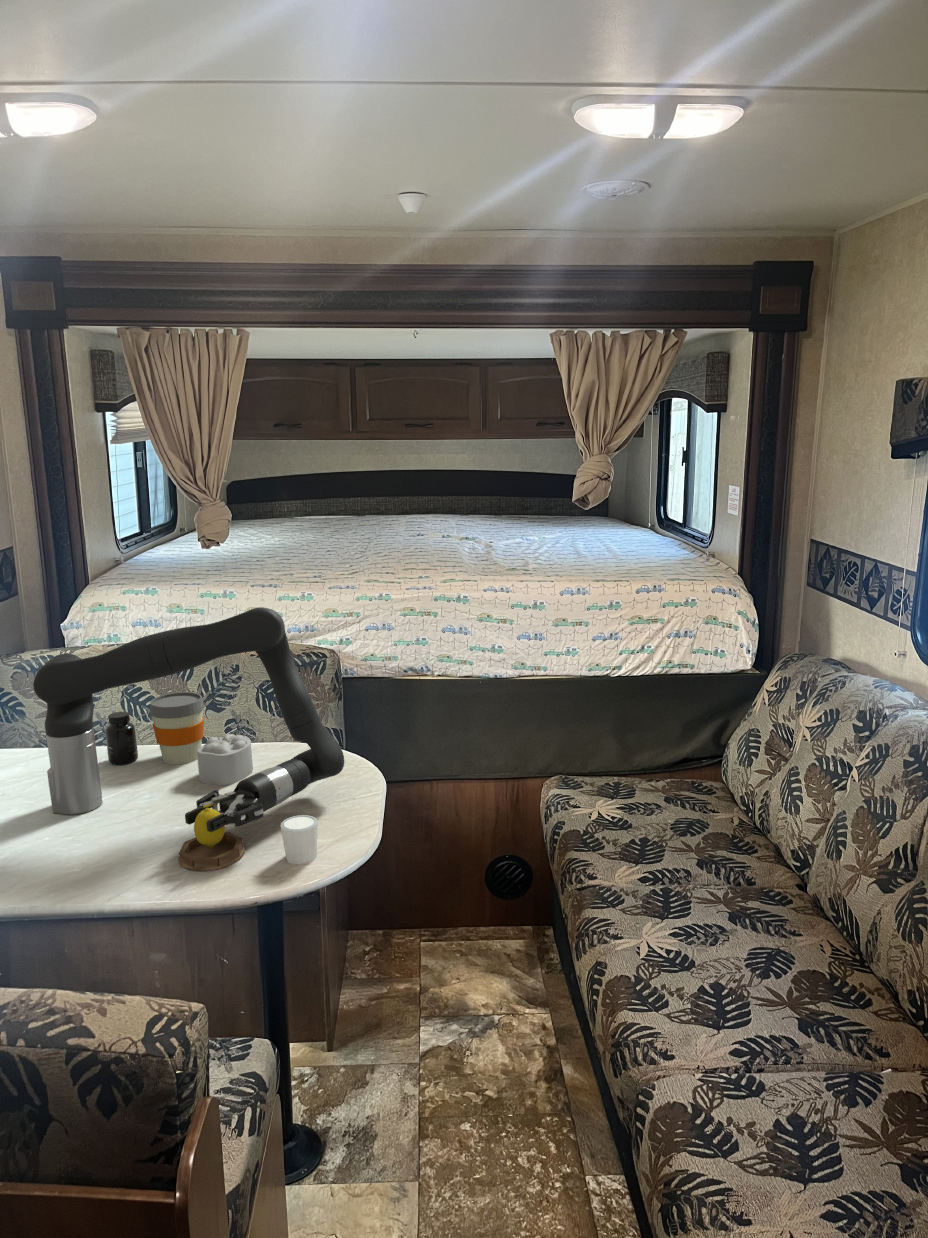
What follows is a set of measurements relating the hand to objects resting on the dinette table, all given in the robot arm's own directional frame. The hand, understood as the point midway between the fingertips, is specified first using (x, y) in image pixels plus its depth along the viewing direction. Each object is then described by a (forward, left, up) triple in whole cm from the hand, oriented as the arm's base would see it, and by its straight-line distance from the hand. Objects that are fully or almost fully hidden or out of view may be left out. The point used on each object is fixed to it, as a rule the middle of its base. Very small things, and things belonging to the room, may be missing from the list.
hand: (197, 823), depth 160 cm
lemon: (+2, +2, -6) cm, 7 cm away
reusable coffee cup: (-15, +55, -8) cm, 58 cm away
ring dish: (+2, +2, -8) cm, 8 cm away
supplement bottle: (-29, +55, -8) cm, 63 cm away
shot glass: (+19, -1, -8) cm, 20 cm away
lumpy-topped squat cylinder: (-2, +43, -8) cm, 44 cm away
